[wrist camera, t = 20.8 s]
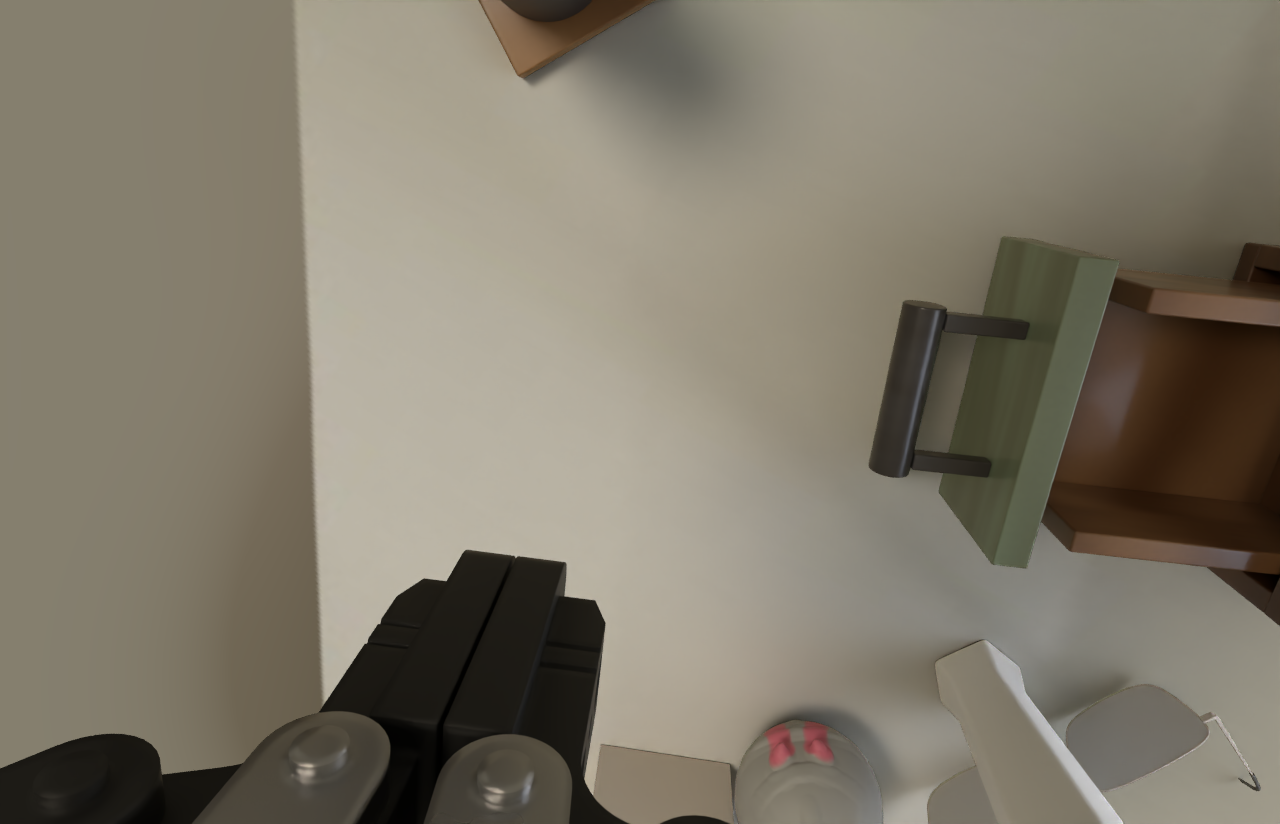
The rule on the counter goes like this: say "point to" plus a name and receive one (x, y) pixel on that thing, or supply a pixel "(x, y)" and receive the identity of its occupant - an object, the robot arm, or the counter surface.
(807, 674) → the counter surface
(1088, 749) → the eyeglasses
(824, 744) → the figurine
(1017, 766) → the perfume bottle
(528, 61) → the coaster
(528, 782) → the robot arm
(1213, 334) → the drawer
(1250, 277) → the cabinet
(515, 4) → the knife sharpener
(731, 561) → the counter surface
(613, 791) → the soap dispenser
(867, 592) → the counter surface
